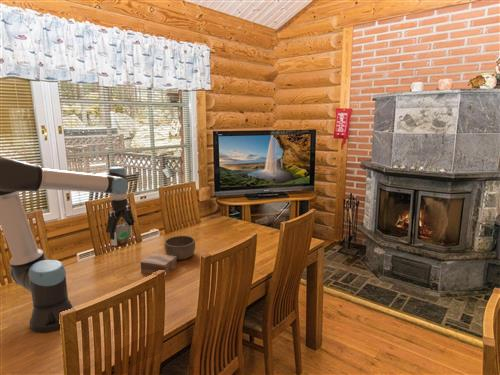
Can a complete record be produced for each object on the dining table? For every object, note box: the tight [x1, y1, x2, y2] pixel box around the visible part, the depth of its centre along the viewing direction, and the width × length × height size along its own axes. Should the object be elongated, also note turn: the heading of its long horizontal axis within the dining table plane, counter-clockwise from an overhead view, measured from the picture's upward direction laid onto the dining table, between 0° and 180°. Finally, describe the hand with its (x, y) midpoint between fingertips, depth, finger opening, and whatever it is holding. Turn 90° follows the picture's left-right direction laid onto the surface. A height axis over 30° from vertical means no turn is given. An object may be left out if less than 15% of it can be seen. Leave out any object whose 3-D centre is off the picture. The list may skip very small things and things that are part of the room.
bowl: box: [164, 235, 196, 261], centre depth 193 cm, size 17×18×10 cm
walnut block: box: [140, 252, 178, 276], centre depth 176 cm, size 12×14×6 cm
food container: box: [109, 220, 129, 248], centre depth 167 cm, size 12×6×10 cm, turn 168°
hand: (122, 241), depth 167 cm, fingers closed on food container, 11 cm apart
